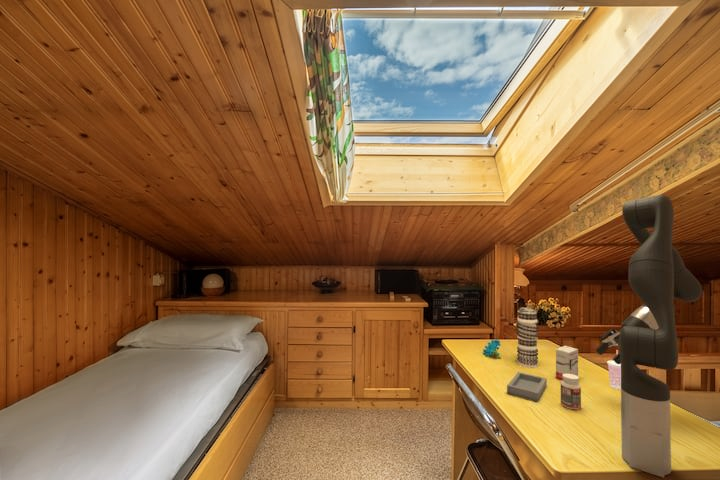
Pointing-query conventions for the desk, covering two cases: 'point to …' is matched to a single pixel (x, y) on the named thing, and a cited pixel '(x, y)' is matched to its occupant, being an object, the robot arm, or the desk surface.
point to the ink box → (566, 361)
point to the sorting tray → (527, 386)
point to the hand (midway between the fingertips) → (606, 357)
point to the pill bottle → (570, 391)
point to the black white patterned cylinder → (527, 337)
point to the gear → (492, 348)
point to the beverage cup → (614, 373)
